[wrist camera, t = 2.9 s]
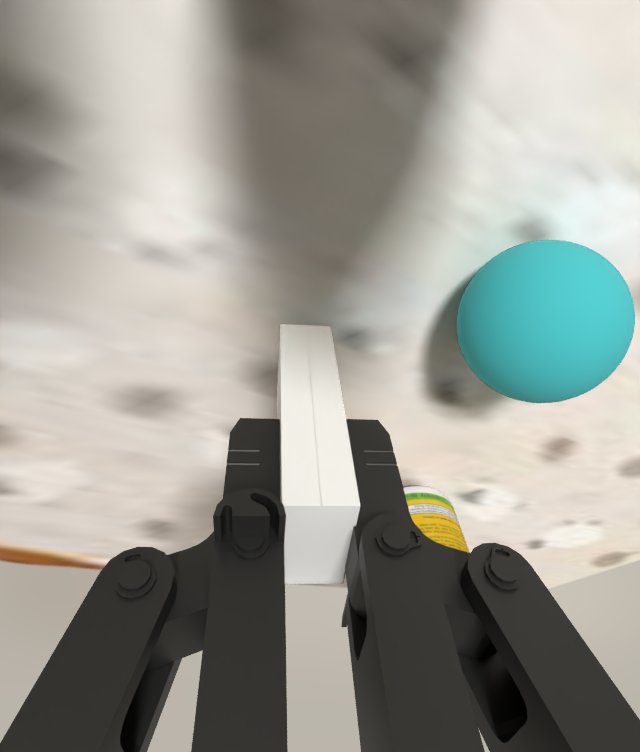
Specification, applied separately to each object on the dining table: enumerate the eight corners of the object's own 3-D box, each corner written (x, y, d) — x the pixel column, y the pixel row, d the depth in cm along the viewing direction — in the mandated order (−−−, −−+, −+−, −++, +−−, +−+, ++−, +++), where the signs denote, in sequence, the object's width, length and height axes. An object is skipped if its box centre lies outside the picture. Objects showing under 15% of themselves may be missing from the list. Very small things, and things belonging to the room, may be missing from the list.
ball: (424, 342, 22) (467, 436, 17) (459, 210, 18) (525, 283, 14) (548, 346, 23) (621, 437, 18) (605, 220, 19) (715, 292, 14)
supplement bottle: (375, 480, 28) (416, 664, 20) (463, 484, 29) (535, 662, 21) (355, 536, 31) (384, 714, 23) (435, 539, 32) (488, 710, 24)
